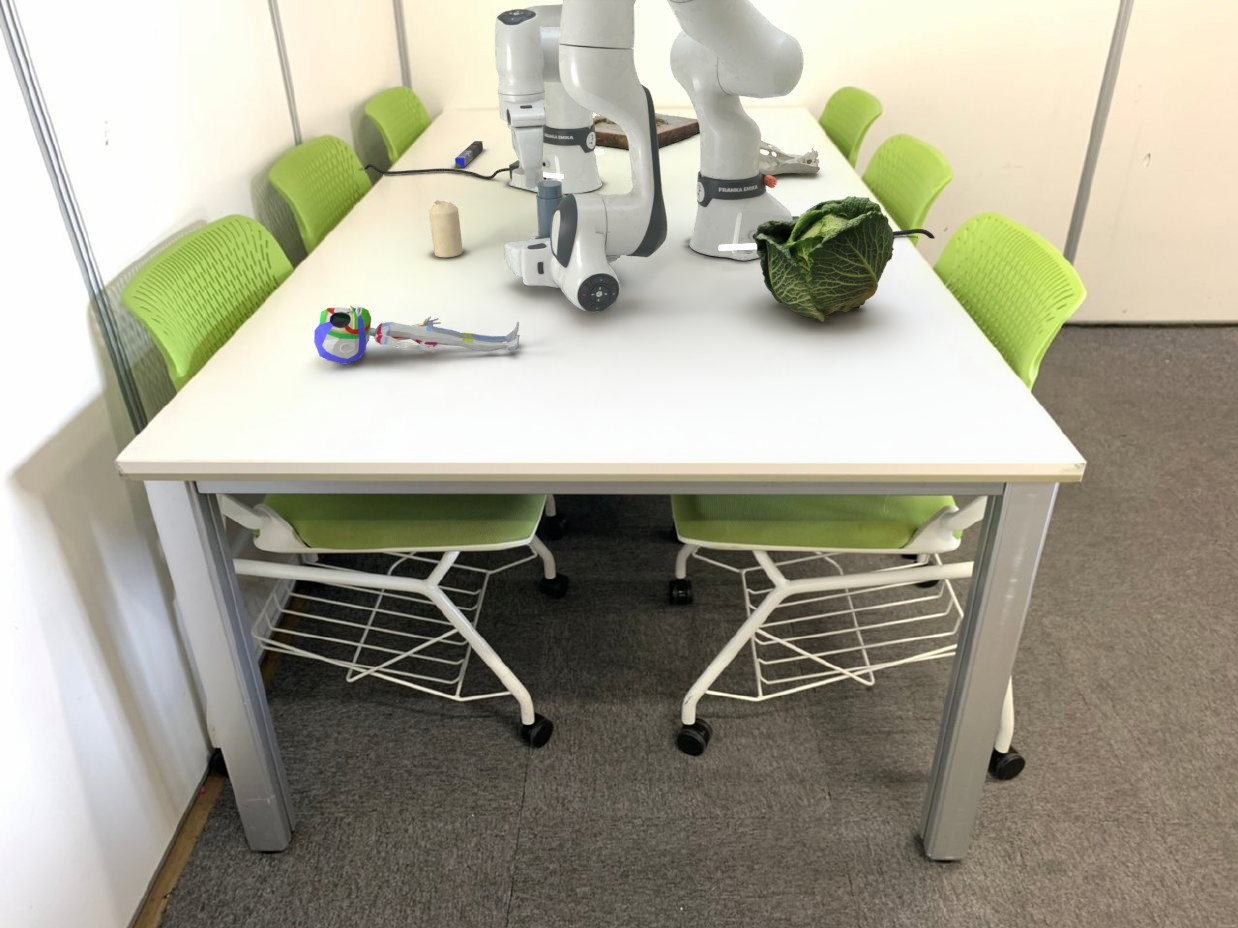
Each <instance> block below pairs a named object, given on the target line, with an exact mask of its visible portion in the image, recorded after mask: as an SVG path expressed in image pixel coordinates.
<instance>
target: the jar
mask: <svg viewBox="0 0 1238 928" xmlns="http://www.w3.org/2000/svg"><path fill="white" fill-rule="evenodd" d="M537 187H538V192H537V194H536V195H535V202H536V215H537V217H536V218H537V234H538V235H539V237H540V239H542V238H550V223H551V217H552V214H553V212H554V210H555V209H556V207H557V206H558V204H559V203H560V202H561V201H562V199H563V198H564V197H566V194H563V190H562V182H560V181H556V180H546V181H541V182H539V183H538V185H537ZM538 235H537V236H538Z"/></svg>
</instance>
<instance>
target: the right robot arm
mask: <svg viewBox="0 0 1238 928" xmlns="http://www.w3.org/2000/svg"><path fill="white" fill-rule="evenodd" d="M636 1H637V0H562V4H563V5H562V12H561V21H560V34H559V43H562V44H559V71H560V78H561V82H562V84H563V87H564V88H565V90H566V92H567V93H568V94H569V96H570V97H571V98H572V99H573V100H574V101H575V102H577V103H578V104H579V105H581V106H582V107H584V108H586V109H588V110H590V111H592V112H593V114H596V115H597V116H603V117H605V118H607V119H609V120H611V121H613V122H614V123H616V124H617V125H619V126H620V127H621V128H622V130H623V131H624V132H625V134H626V136H627V139H628V145H629V149H628V154H629V155H628V156H629V163H630V165H629V166H630V174H631V185H632V187H631V190H630V192H628V193H597V192H593V193H592V192H590V193H588V192H583V193H572V194H566V195H565V197H564V198H563V199H562V201H561V202H560V203H559V204H558V206H557V207H556V209H555V210H554V212H553V214H552V217H551V223H550V238H542V239H540V237H539V235H531V236H530V239H525V240H518V241H509V242H506V243H505V244H504V246H503V254H504V261H505V265H506V266H507V267H508V268H509V270H510V271H511V272H512V273H513V274H514V275H516V276H517V277H519V278H522V282H523V284H524V285H526V286H535V287H536V286H538V287H551V288H555V289H560V290H561V292H562V293H563V295H564V296H565V297H566V298H567V300H568V301H569V302H570V303H571V304H573V305H574V306H575V307H576V308H578V309H579V310H582V311H583V312H587V313H599V312H603V311H605V310H607V309H609V308H610V307H611V306H613V305H614V304H615V303H616V301H617V300H618V298H619V296H620V293H621V285H620V281H619V278H618V276H617V274H616V272H615V270H614V269H613V267H612V266H611V264H610V263H614V262H616V261H618V259H620V258H621V256H627V257H637V258H649V257H651V256H652V255H653V254H654V253H656V252H657V251H658V250H659V249H660V248H661V246H663V244H664V243H665V242H666V240H667V235H668V218H667V217H668V216H667V209H666V206H665V200H664V194H663V185H662V174H661V173H662V172H661V161H660V149H659V148H660V147H658V135H657V125H656V116H655V113H656V109H655V103H654V100H653V96H652V94H651V91H650V89H649V88H648V87H647V86H646V85H643V83H642V82H641V80H640V79H639V76H638V73H637V70H636V66H635V65H636V64H635V49H634V48H635V33H636V32H635V28H636V27H635V3H636ZM666 1H667V3H668V5H669V6H670V9H671V11H672V12H673V15H674V16H675V18H676V20H677V22H678V24H679V26H680V28H681V29H682V30H681V31H680V32H679V33H678V35H677V36H676V37H675V39H674V40H673V42H672V45H671V48H670V52H669V66H670V71H671V73H672V75H673V77H674V79H675V81H676V82H677V83H678V84H680V86H682V88H683V90H684V91H685V92H686V94H687V96H688V97H689V99H690V101H691V103H692V106H693V109H694V112H695V115H696V119H698V123H699V128H700V132H699V138H700V140H699V142H700V147H699V148H700V163H699V166H700V167H699V171H698V172H697V182H696V202H697V209H696V215H695V221H694V226H693V230H692V234H691V237H690V240H689V242H688V243H689V247H690V248H691V250H693V251H695V252H697V253H699V254H703V255H707V256H712V257H719V258H729V259H733V260H736V261H737V260H738V261H750V260H754V259H759V258H760V257H759V256H758V254H757V246H756V242H755V239H754V236H755V233H756V232H757V228H758V226H759V225H761V224H763V223H765V222H768V221H771V220H776V221H789V222H790V221H793V220H795V219H797V218H799V217H800V215H792V213H791V212H790V210H789V209H788V208H787V207H786V206H785V205H784V204H782V202H780V201H779V200H778V199H777V198H776V197H774V196H773V195H772V194H771V193H769V192H768V191H767V187H768V188H770V189H773V188H775V187H776V186H777V183H778V179H777V178H776V177H775V176H773V175H765V174H763V173H762V172H760V171H759V162H760V153H761V149H760V147H761V141H762V133H761V128H760V126H759V124H758V123H757V122H756V120H754V119H753V118H752V116H750V115H748V113H747V112H746V111H745V109H744V107H743V104H742V101H741V98H740V97H746V98H752V99H753V98H754V99H770V98H778V97H779V98H780V97H785V96H787V95H789V94H790V93H791V92H792V91H793V90H795V88H796V87H797V85H798V84H799V82H800V79H801V77H802V74H803V71H804V64H805V59H804V58H805V57H804V52H803V48H802V45H801V44H800V42H799V40H798V39H797V38H796V37H794V36H792V35H791V34H789V33H787V32H785V31H783V30H781V29H780V28H779V27H777V26H776V25H774V23H772V22H771V21H770V20H769V19H768V18H767V17H765V16H764V14H762V13H761V12H760V10H759V9H757V8H756V6H755V5H754V4H753V3H752V2H751V1H750V0H666ZM893 234H894V236H895V237H897V236H906V235H914V234H922V235H925V236H926V237H928V238H929V239H932V240H934V239H936V236H935V235H934V234H933V233H932V232H931V231H929V230H927V229H924V228H911V229H905V230H895V231H893Z"/></svg>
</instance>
